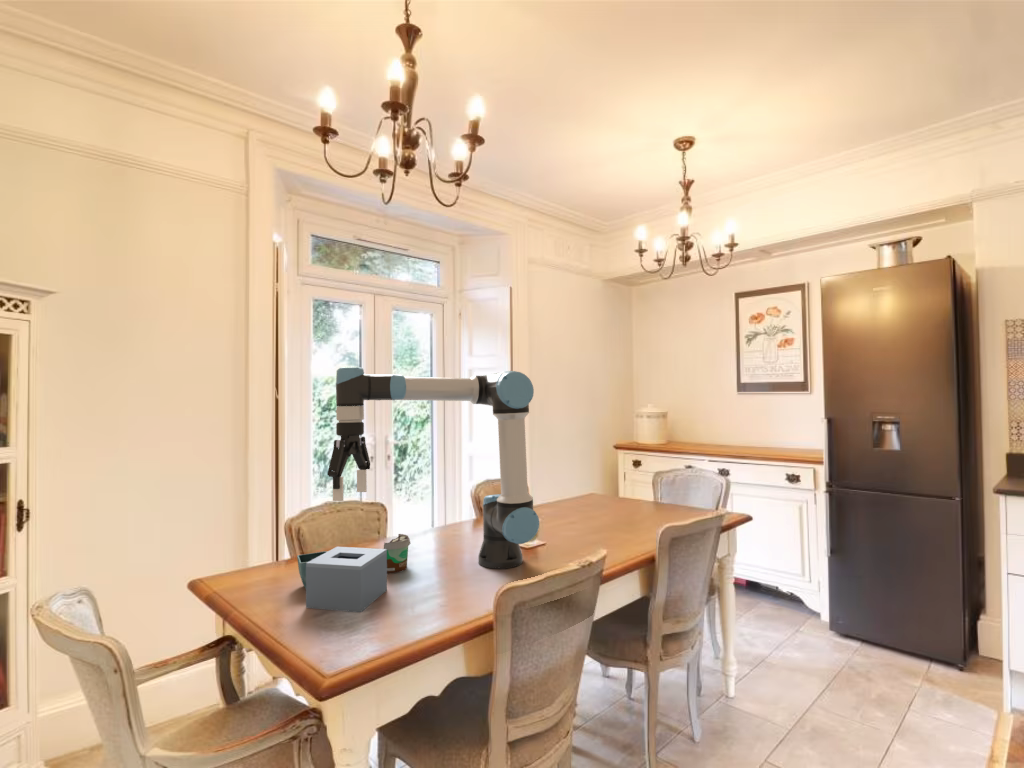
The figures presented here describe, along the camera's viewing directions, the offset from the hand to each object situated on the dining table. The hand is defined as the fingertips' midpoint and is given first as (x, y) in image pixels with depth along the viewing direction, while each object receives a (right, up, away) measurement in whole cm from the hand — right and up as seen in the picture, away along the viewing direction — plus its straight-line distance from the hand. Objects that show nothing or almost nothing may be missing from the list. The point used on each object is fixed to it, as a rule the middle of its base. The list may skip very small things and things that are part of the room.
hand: (350, 496), depth 150 cm
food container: (+9, -29, +24) cm, 39 cm away
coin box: (0, -29, -1) cm, 29 cm away
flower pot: (-14, -29, +8) cm, 33 cm away
